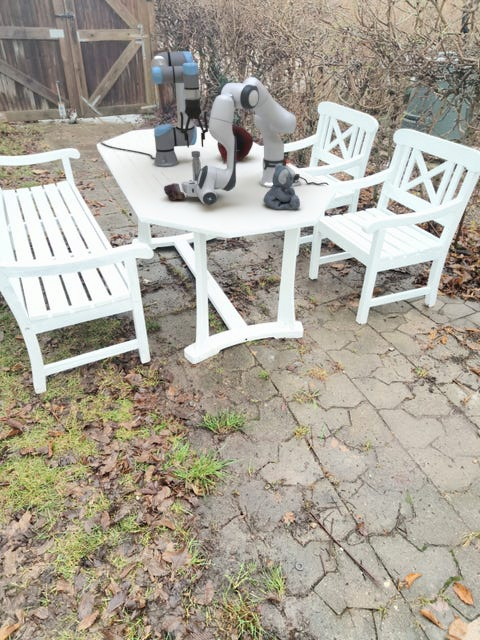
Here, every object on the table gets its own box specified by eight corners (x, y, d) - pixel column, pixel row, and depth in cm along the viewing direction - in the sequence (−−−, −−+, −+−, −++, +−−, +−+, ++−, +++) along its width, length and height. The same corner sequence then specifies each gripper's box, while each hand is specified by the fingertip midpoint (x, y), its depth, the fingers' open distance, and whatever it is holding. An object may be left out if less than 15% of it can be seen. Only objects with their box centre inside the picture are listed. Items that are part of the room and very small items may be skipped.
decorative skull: (214, 132, 306) (214, 129, 283) (248, 124, 306) (250, 120, 282) (221, 164, 313) (221, 164, 290) (254, 156, 312) (257, 156, 289)
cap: (201, 156, 239) (201, 152, 238) (194, 157, 237) (194, 153, 236) (197, 154, 242) (197, 150, 241) (190, 156, 240) (189, 151, 239)
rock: (179, 196, 245) (162, 199, 241) (177, 180, 241) (160, 182, 237) (187, 199, 235) (169, 202, 231) (185, 182, 232) (167, 185, 228)
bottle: (203, 190, 249) (201, 153, 238) (196, 192, 247) (194, 154, 236) (199, 188, 253) (197, 151, 241) (192, 190, 250) (189, 152, 239)
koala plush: (301, 210, 223) (303, 170, 212) (265, 211, 222) (266, 171, 211) (294, 198, 237) (297, 160, 226) (261, 199, 236) (261, 161, 225)
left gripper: (211, 96, 228) (213, 144, 241) (172, 98, 226) (176, 145, 239) (212, 99, 222) (214, 147, 235) (172, 100, 219) (176, 149, 232)
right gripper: (223, 180, 233) (217, 173, 244) (183, 184, 228) (179, 176, 239) (223, 192, 236) (217, 184, 247) (184, 196, 232) (180, 188, 243)
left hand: (195, 146), depth 237 cm, fingers open, 7 cm apart
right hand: (198, 180), depth 243 cm, fingers open, 8 cm apart
